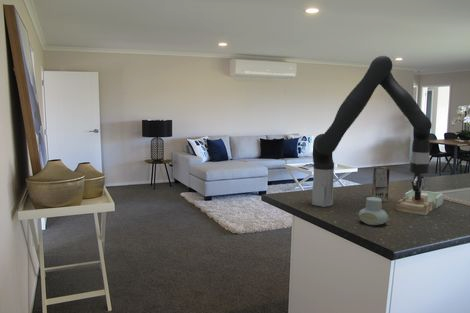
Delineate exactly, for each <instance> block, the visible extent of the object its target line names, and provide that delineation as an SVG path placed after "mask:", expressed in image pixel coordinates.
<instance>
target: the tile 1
mask: <svg viewBox="0 0 470 313" xmlns="http://www.w3.org/2000/svg"><path fill="white" fill-rule="evenodd" d="M412 201H416V202H422V203H424V202H425V201H427V196H421V199H420V200H415V195H414V196H412Z"/></svg>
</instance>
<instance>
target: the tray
mask: <svg viewBox="0 0 470 313" xmlns="http://www.w3.org/2000/svg"><path fill="white" fill-rule="evenodd" d="M421 193H426V194H428V202H430V201H431V200H434V209H433V210H436V209H439V207H441V205H443V204H444V193H443V192H435V191H429V190H428V191H427V190H422V192H421ZM403 195H404V197H406V196H408V199H412V196H414V195H415V192H414V191H413V188H412V189H410V190H409V191H407V192H405V193H404V194H403ZM404 197H403V198H404Z"/></svg>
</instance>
